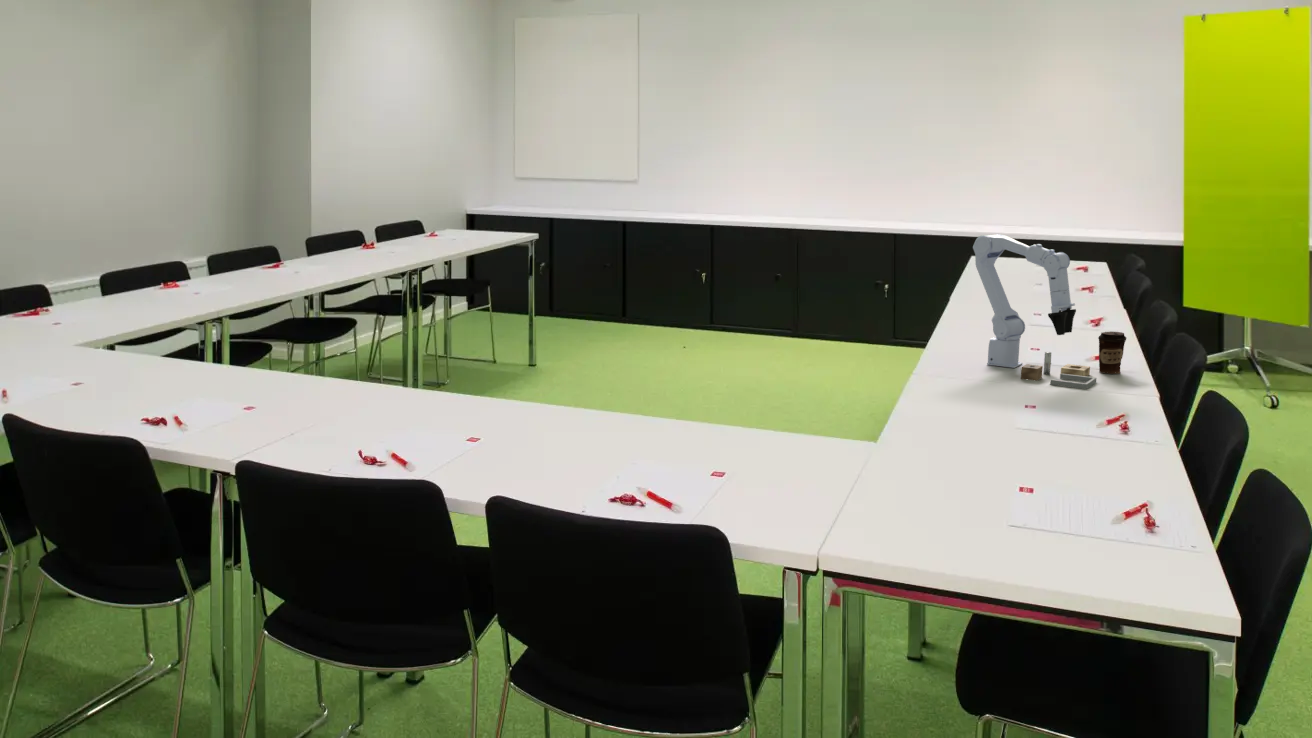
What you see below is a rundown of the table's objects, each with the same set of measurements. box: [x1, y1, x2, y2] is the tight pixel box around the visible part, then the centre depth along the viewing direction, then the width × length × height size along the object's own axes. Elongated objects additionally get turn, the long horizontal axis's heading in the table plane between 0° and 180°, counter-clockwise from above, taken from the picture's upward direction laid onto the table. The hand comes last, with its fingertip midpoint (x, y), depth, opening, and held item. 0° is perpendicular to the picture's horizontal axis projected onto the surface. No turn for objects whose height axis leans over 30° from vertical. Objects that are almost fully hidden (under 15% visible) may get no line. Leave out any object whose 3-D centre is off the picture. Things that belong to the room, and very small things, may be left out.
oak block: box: [1060, 363, 1091, 377], centre depth 348 cm, size 7×7×3 cm
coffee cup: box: [1097, 331, 1127, 375], centre depth 350 cm, size 9×8×13 cm
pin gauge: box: [1042, 351, 1052, 376], centre depth 350 cm, size 2×2×7 cm
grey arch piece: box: [1049, 373, 1098, 390], centre depth 337 cm, size 11×11×2 cm
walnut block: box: [1020, 363, 1044, 382], centre depth 344 cm, size 5×5×4 cm
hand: (1064, 333), depth 345 cm, fingers open, 7 cm apart
